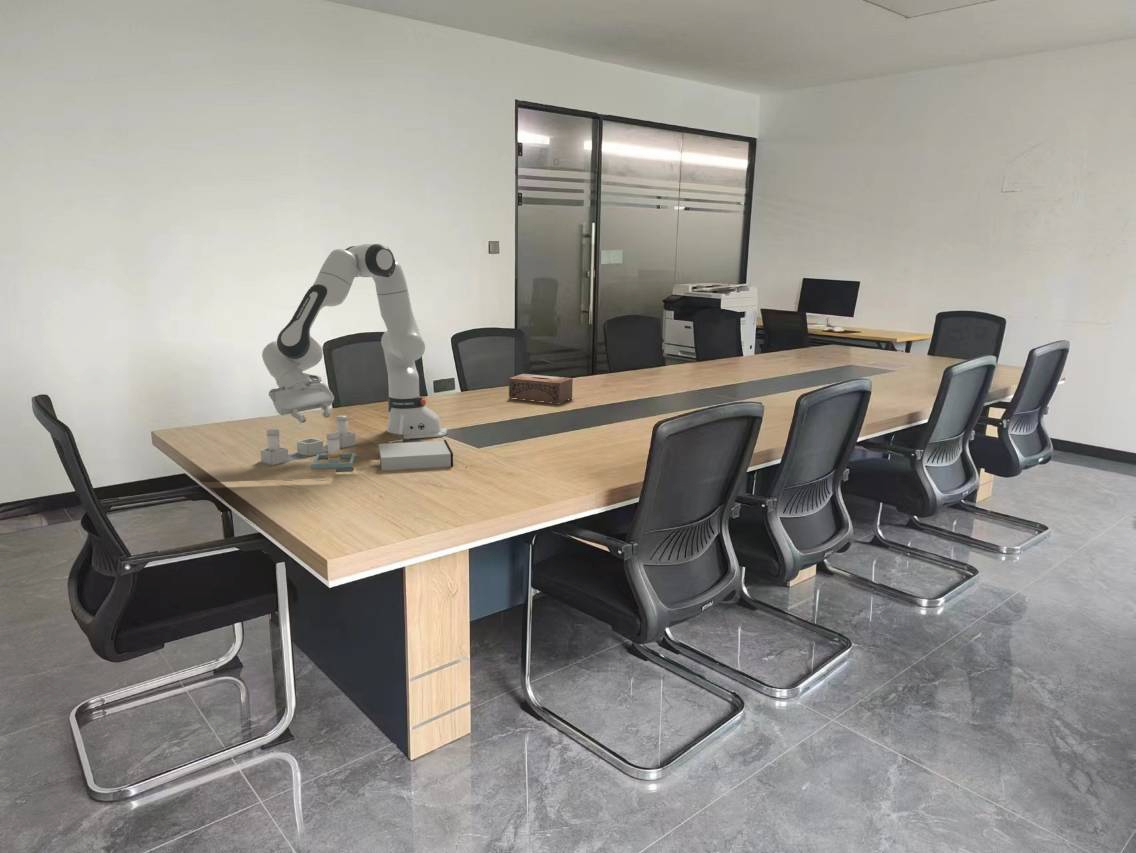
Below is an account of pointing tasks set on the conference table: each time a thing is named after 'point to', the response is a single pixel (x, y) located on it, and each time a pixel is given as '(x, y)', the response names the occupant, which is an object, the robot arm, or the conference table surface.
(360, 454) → the conference table surface
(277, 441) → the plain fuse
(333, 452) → the marked fuse
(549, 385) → the tissue box cover
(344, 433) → the peg
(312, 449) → the fuse holder
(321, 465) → the tray
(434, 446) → the disc drive
